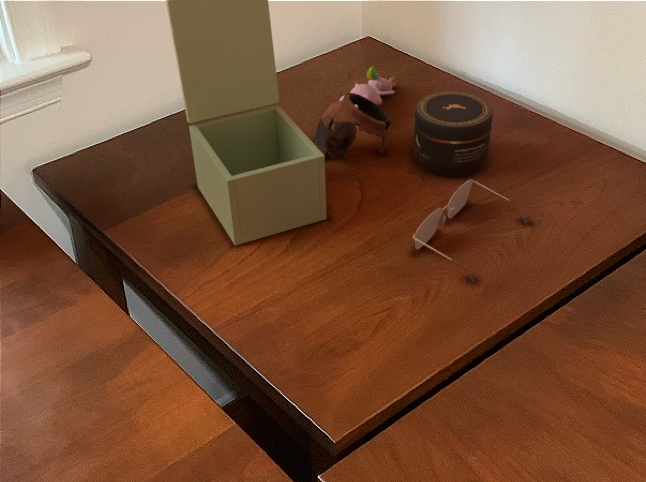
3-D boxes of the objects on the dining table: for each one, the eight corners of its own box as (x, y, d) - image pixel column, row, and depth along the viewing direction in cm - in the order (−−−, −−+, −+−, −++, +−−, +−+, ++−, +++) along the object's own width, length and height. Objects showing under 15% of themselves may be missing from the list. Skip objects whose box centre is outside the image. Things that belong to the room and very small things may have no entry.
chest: (326, 219, 98) (324, 155, 92) (235, 245, 94) (227, 181, 88) (282, 165, 107) (278, 104, 102) (197, 187, 103) (188, 125, 98)
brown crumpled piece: (318, 130, 115) (346, 81, 112) (374, 167, 115) (404, 119, 112) (292, 153, 105) (323, 100, 101) (354, 194, 105) (387, 142, 101)
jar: (398, 150, 110) (400, 99, 105) (462, 134, 113) (467, 83, 109) (435, 187, 103) (439, 134, 98) (502, 169, 106) (509, 116, 101)
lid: (266, -17, 93) (251, -26, 97) (167, 0, 89) (155, -9, 93) (279, 102, 101) (265, 90, 105) (189, 123, 97) (177, 110, 101)
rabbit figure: (366, 91, 127) (324, 119, 114) (369, 52, 124) (326, 78, 112) (404, 98, 125) (365, 128, 112) (407, 59, 122) (368, 86, 110)
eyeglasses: (469, 199, 101) (474, 173, 98) (527, 225, 98) (534, 199, 95) (409, 257, 92) (412, 230, 89) (471, 288, 89) (477, 260, 86)
